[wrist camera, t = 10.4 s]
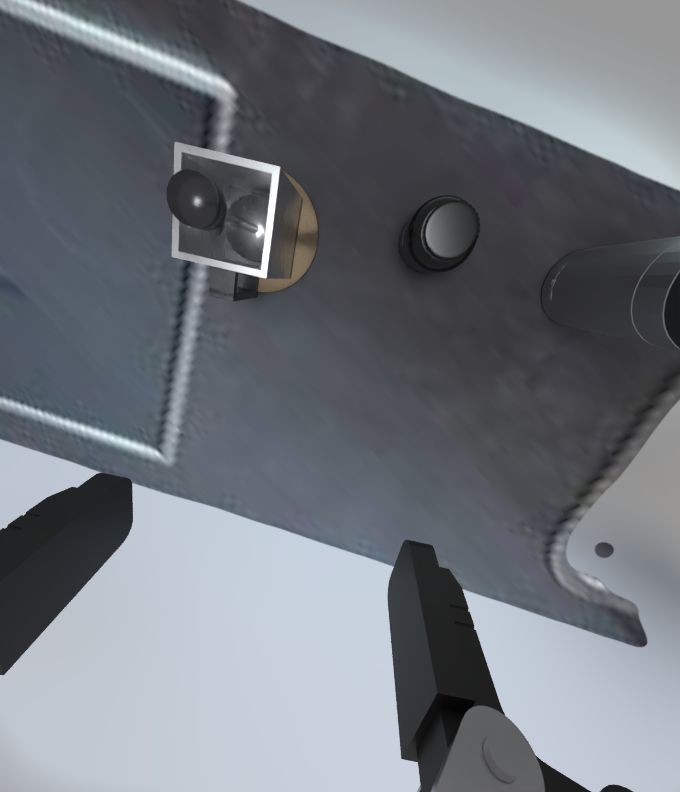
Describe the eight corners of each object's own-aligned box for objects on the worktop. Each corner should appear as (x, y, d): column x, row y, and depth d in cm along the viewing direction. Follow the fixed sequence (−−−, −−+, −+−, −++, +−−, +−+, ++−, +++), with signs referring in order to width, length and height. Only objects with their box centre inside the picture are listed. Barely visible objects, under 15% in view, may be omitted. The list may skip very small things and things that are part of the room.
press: (328, 181, 37) (314, 138, 26) (306, 305, 42) (287, 315, 31) (210, 153, 37) (144, 97, 26) (203, 282, 42) (145, 282, 31)
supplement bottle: (390, 224, 38) (403, 201, 27) (447, 202, 37) (485, 168, 26) (406, 281, 40) (423, 282, 29) (460, 262, 39) (500, 255, 28)
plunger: (289, 203, 36) (242, 154, 22) (280, 267, 38) (233, 259, 24) (230, 190, 36) (144, 130, 22) (225, 254, 38) (144, 239, 24)
